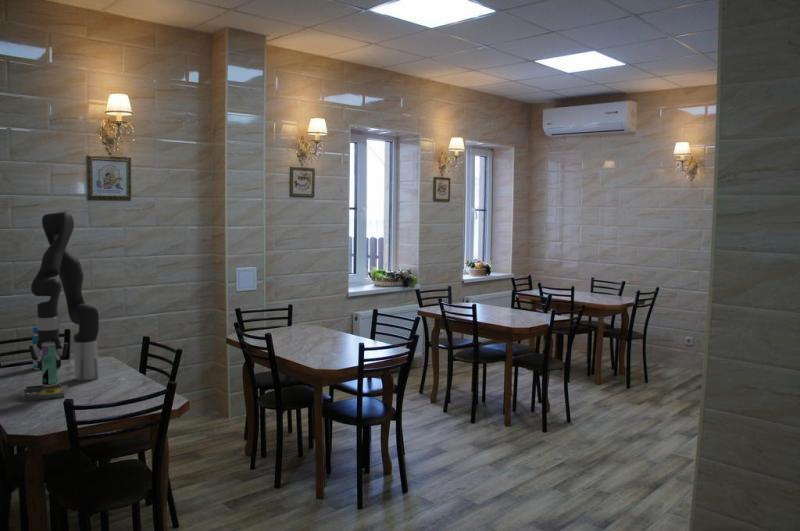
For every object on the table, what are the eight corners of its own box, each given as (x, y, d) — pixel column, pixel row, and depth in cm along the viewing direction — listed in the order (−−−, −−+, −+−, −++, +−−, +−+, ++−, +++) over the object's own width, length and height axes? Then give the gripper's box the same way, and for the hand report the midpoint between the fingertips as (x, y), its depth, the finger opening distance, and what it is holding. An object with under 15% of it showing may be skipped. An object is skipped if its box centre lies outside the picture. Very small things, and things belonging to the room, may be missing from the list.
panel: (67, 389, 267) (67, 382, 267) (64, 397, 257) (63, 390, 257) (26, 393, 262) (26, 386, 262) (21, 401, 251) (21, 394, 251)
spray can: (54, 382, 262) (52, 334, 260) (60, 384, 258) (58, 336, 256) (40, 384, 257) (38, 336, 256) (45, 387, 254) (43, 338, 252)
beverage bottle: (32, 370, 297) (30, 328, 295) (33, 366, 304) (31, 325, 303) (52, 368, 301) (51, 327, 299) (53, 364, 308) (51, 324, 306)
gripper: (69, 325, 262) (70, 365, 263) (29, 327, 257) (31, 368, 258) (66, 328, 255) (68, 370, 256) (25, 330, 250) (27, 372, 251)
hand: (49, 369), depth 257 cm, fingers closed on spray can, 5 cm apart
